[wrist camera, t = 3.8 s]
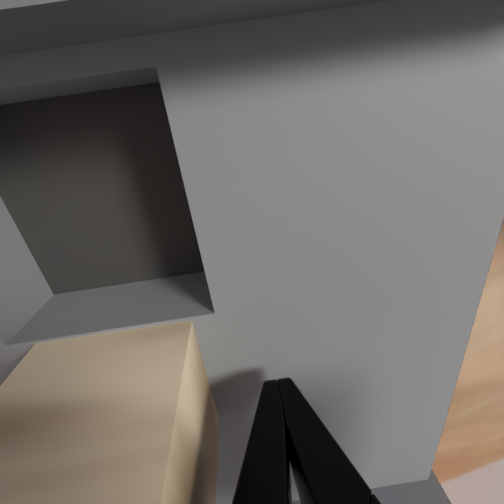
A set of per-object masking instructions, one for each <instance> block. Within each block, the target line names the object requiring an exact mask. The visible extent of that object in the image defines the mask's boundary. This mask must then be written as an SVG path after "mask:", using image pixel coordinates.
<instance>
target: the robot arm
mask: <svg viewBox="0 0 504 504" xmlns="http://www.w3.org/2000/svg"><path fill="white" fill-rule="evenodd" d="M290 465H291V469H292V473H293V477H294V480H295V484H296V487H297V491H298V495H299V498H300V502H301V504H381V503H380V501H379V500H378V498H377V497H376V496H375V494H372V491H371V489H370V488H369V486H368V485H367V483H366V482H365V481H364V479H363V478H362V476H361V475H360V474H359V472H358V471H357V469H356V468H355V467H354V465H353V464H352V462H351V461H350V460H349V458H348V457H347V455H346V454H345V453H344V451H343V450H342V448H341V447H340V446H339V444H338V443H337V442H336V440H335V439H334V437H333V436H332V435H331V433H330V432H329V430H328V429H327V428H326V426H325V425H324V423H323V422H322V421H321V419H320V418H319V416H318V415H317V414H316V412H315V411H314V409H313V408H312V407H311V405H310V404H309V402H308V401H307V400H306V398H305V397H304V395H303V394H302V393H301V391H300V390H299V388H298V387H297V386H296V384H295V383H294V382H293V380H292V379H291V378H290V377H286V378H279V379H278V380H276V379H273V380H266V381H264V383H263V385H262V389H261V393H260V397H259V401H258V405H257V409H256V412H255V416H254V420H253V424H252V428H251V432H250V436H249V439H248V443H247V447H246V451H245V455H244V459H243V463H242V466H241V470H240V474H239V478H238V482H237V486H236V489H235V493H234V497H233V501H232V504H292V490H291V473H290Z"/></svg>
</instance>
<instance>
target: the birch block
mask: <svg viewBox="0 0 504 504" xmlns="http://www.w3.org/2000/svg"><path fill="white" fill-rule="evenodd" d="M218 425H219V417H218V413H217V410H216V406H215V403H214V399H213V395H212V392H211V388H210V385H209V381H208V377H207V374H206V370H205V367H204V363H203V359H202V356H201V352H200V349H199V345H198V341H197V338H196V334H195V331H194V327H193V323H192V321H186V322H179V323H172V324H165V325H159V326H152V327H145V328H138V329H131V330H124V331H117V332H111V333H104V334H97V335H90V336H83V337H76V338H70V339H63V340H56V341H49V342H42V343H35V345H34V346H33V347H32V348H31V349H30V351H29V352H28V353H27V354H26V355H25V357H24V358H23V359H22V360H21V362H20V363H19V364H18V365H17V366H16V368H15V369H14V370H13V371H12V372H11V374H10V375H9V376H8V377H7V378H6V380H5V381H4V382H3V383H2V385H1V386H0V504H216V493H217V459H218Z"/></svg>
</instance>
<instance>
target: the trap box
mask: <svg viewBox="0 0 504 504" xmlns="http://www.w3.org/2000/svg"><path fill="white" fill-rule="evenodd" d="M503 219H504V0H0V386H1V385H2V383H3V382H4V381H5V380H6V378H7V377H8V376H9V375H10V374H11V372H12V371H13V370H14V369H15V368H16V366H17V365H18V364H19V363H20V362H21V360H22V359H23V358H24V357H25V355H26V354H27V353H28V352H29V351H30V349H31V348H32V347H33V346H34V345H35V343H42V342H49V341H56V340H63V339H70V338H76V337H83V336H90V335H97V334H104V333H111V332H117V331H124V330H131V329H138V328H145V327H152V326H159V325H165V324H172V323H179V322H186V321H192V323H193V327H194V331H195V334H196V338H197V341H198V345H199V349H200V352H201V356H202V359H203V363H204V367H205V370H206V374H207V377H208V381H209V385H210V388H211V392H212V395H213V399H214V403H215V406H216V410H217V413H218V417H219V425H218V459H217V493H216V504H232V501H233V497H234V493H235V489H236V486H237V482H238V478H239V474H240V470H241V466H242V463H243V459H244V455H245V451H246V447H247V443H248V439H249V436H250V432H251V428H252V424H253V420H254V416H255V412H256V409H257V405H258V401H259V397H260V393H261V389H262V385H263V383H264V381H266V380H273V379H276V380H278V379H279V378H286V377H290V378H291V379H292V380H293V382H294V383H295V384H296V386H297V387H298V388H299V390H300V391H301V393H302V394H303V395H304V397H305V398H306V400H307V401H308V402H309V404H310V405H311V407H312V408H313V409H314V411H315V412H316V414H317V415H318V416H319V418H320V419H321V421H322V422H323V423H324V425H325V426H326V428H327V429H328V430H329V432H330V433H331V435H332V436H333V437H334V439H335V440H336V442H337V443H338V444H339V446H340V447H341V448H342V450H343V451H344V453H345V454H346V455H347V457H348V458H349V460H350V461H351V462H352V464H353V465H354V467H355V468H356V469H357V471H358V472H359V474H360V475H361V476H362V478H363V479H364V481H365V482H366V483H367V485H368V486H369V488H370V489H371V491H372V494H375V496H376V497H377V498H378V500H379V501H380V503H381V504H451V502H450V500H449V499H448V497H447V496H446V494H445V492H444V490H443V488H442V487H441V485H440V483H439V481H438V479H437V478H436V476H435V474H434V472H433V471H432V469H431V468H432V465H433V461H434V458H435V454H436V451H437V448H438V444H439V441H440V437H441V434H442V430H443V427H444V423H445V420H446V416H447V413H448V409H449V406H450V403H451V399H452V396H453V392H454V389H455V385H456V382H457V378H458V375H459V371H460V368H461V364H462V361H463V358H464V354H465V351H466V347H467V344H468V340H469V337H470V333H471V330H472V326H473V323H474V319H475V316H476V313H477V309H478V306H479V302H480V299H481V295H482V292H483V288H484V285H485V281H486V278H487V274H488V271H489V268H490V264H491V261H492V257H493V254H494V250H495V247H496V243H497V240H498V236H499V233H500V229H501V226H502V223H503ZM290 473H291V490H292V504H301V502H300V498H299V495H298V491H297V487H296V484H295V480H294V477H293V473H292V469H291V465H290Z"/></svg>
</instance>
